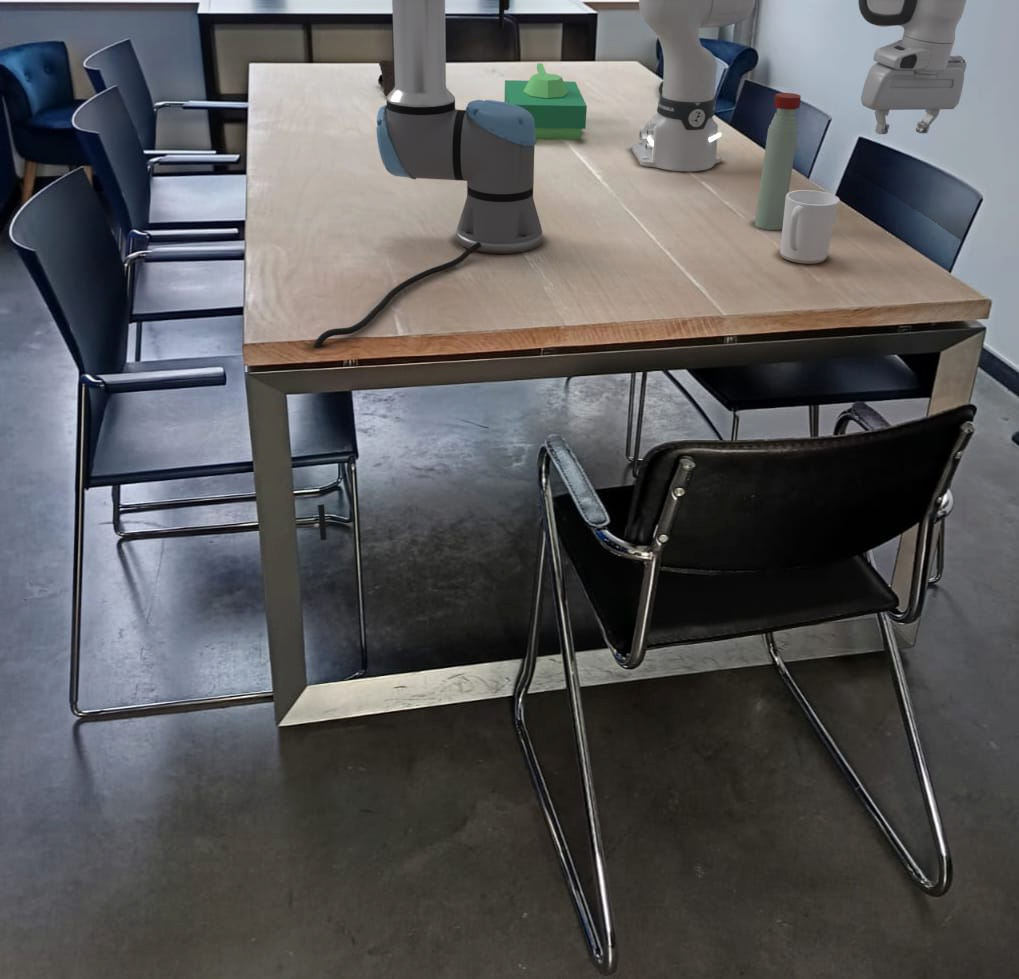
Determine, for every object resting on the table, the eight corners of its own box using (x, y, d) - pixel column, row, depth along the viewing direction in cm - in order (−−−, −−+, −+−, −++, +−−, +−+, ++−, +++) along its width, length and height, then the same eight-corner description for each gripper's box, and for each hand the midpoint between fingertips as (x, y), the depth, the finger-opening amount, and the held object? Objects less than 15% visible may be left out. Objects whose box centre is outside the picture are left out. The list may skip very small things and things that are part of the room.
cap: (780, 110, 193) (782, 98, 192) (769, 104, 196) (771, 93, 195) (803, 109, 194) (805, 97, 193) (792, 103, 197) (794, 92, 196)
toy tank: (573, 59, 279) (587, 89, 249) (570, 109, 285) (584, 143, 255) (503, 58, 278) (510, 87, 248) (502, 108, 284) (508, 142, 254)
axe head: (443, 87, 294) (392, 77, 287) (436, 115, 299) (385, 106, 292) (421, 62, 307) (371, 52, 300) (414, 89, 311) (365, 80, 304)
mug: (791, 244, 197) (800, 186, 191) (837, 255, 192) (848, 197, 187) (762, 259, 190) (770, 200, 184) (809, 271, 185) (819, 211, 179)
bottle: (761, 230, 204) (780, 101, 191) (750, 221, 208) (767, 94, 196) (788, 229, 205) (808, 100, 192) (775, 220, 209) (794, 94, 197)
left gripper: (534, -91, 215) (530, 25, 226) (409, -94, 217) (412, 20, 229) (530, -88, 209) (526, 31, 220) (401, -92, 211) (405, 26, 222)
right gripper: (957, 51, 202) (933, 127, 210) (867, 50, 195) (847, 128, 203) (980, 60, 197) (956, 137, 205) (889, 59, 190) (867, 139, 198)
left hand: (468, 26), depth 224 cm, fingers open, 13 cm apart
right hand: (901, 133), depth 204 cm, fingers open, 8 cm apart
